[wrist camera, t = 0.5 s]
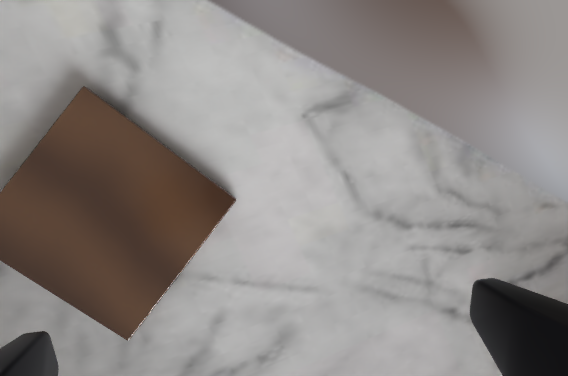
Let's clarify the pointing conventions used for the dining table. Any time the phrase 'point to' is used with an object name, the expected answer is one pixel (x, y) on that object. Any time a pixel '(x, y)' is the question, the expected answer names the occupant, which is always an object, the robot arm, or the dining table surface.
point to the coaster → (106, 214)
